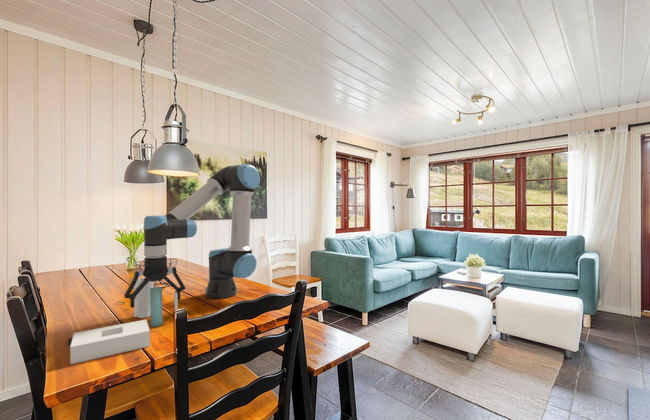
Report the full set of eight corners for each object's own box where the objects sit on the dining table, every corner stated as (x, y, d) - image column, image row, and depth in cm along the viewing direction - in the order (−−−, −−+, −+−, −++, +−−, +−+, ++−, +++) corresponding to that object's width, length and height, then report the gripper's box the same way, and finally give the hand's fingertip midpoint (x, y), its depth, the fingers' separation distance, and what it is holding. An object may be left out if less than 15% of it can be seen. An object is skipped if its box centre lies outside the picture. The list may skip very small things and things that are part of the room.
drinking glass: (136, 314, 130) (136, 278, 130) (155, 312, 132) (154, 277, 132) (133, 320, 124) (132, 282, 123) (152, 317, 126) (151, 280, 126)
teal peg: (161, 321, 122) (161, 286, 121) (163, 325, 118) (162, 288, 118) (150, 324, 119) (149, 287, 119) (151, 327, 116) (150, 290, 116)
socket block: (146, 333, 111) (146, 319, 111) (150, 346, 101) (149, 330, 101) (74, 348, 100) (74, 332, 99) (70, 364, 90) (70, 347, 90)
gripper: (188, 252, 129) (189, 303, 129) (115, 258, 114) (116, 315, 115) (192, 254, 122) (193, 308, 123) (116, 261, 108) (117, 322, 109)
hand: (156, 312), depth 119 cm, fingers open, 13 cm apart
